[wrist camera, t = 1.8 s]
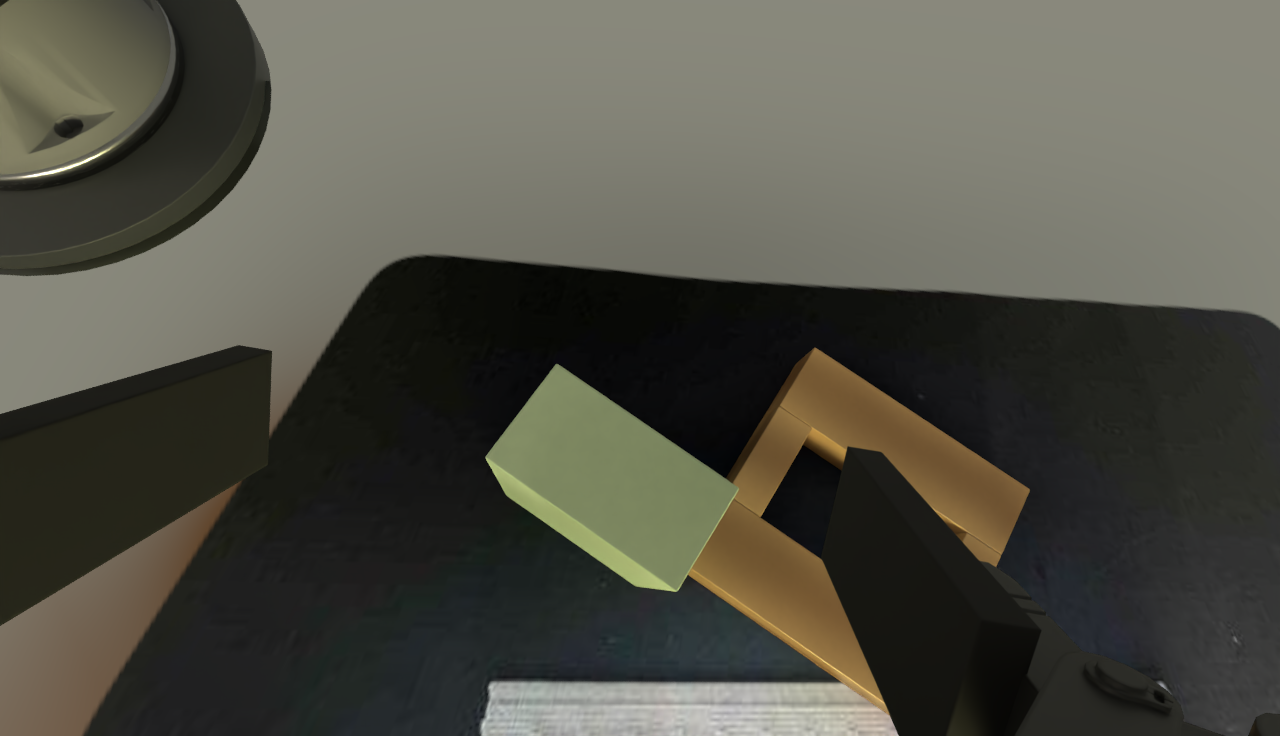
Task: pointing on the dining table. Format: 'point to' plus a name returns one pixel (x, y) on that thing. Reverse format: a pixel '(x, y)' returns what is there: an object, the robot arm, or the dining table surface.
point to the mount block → (827, 424)
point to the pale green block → (610, 482)
